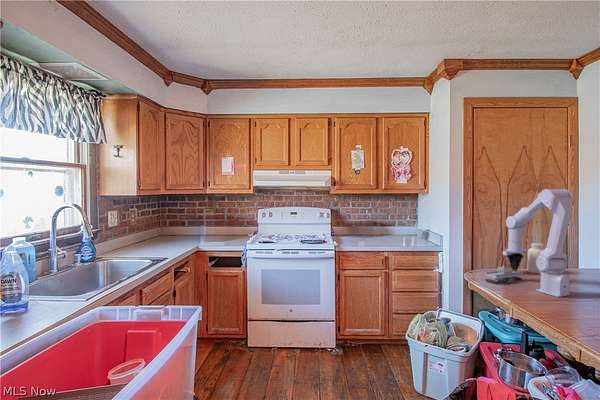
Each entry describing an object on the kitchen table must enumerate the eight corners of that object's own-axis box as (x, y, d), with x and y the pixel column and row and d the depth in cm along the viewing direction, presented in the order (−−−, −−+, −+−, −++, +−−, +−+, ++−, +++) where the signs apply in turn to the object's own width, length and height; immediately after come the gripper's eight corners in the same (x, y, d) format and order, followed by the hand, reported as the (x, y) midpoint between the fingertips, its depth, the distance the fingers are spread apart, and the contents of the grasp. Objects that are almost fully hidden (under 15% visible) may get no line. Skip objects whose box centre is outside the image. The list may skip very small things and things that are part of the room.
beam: (523, 275, 164) (523, 271, 164) (496, 278, 157) (496, 274, 157) (511, 272, 169) (511, 269, 169) (484, 275, 163) (485, 271, 163)
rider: (511, 273, 163) (511, 266, 163) (503, 274, 161) (504, 267, 161) (504, 272, 166) (504, 265, 166) (497, 273, 164) (497, 265, 164)
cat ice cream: (525, 275, 174) (526, 240, 173) (509, 275, 174) (510, 240, 174) (515, 270, 183) (515, 237, 182) (500, 270, 183) (501, 237, 182)
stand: (524, 280, 163) (524, 276, 163) (497, 284, 157) (497, 279, 157) (510, 277, 170) (510, 272, 170) (483, 280, 163) (483, 275, 163)
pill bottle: (545, 274, 175) (546, 245, 175) (526, 272, 180) (527, 244, 179) (545, 271, 182) (546, 243, 181) (527, 269, 186) (528, 242, 186)
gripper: (517, 239, 172) (516, 266, 172) (497, 240, 166) (496, 268, 167) (531, 241, 165) (530, 269, 166) (510, 243, 160) (510, 271, 160)
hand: (514, 269), depth 166 cm, fingers closed
